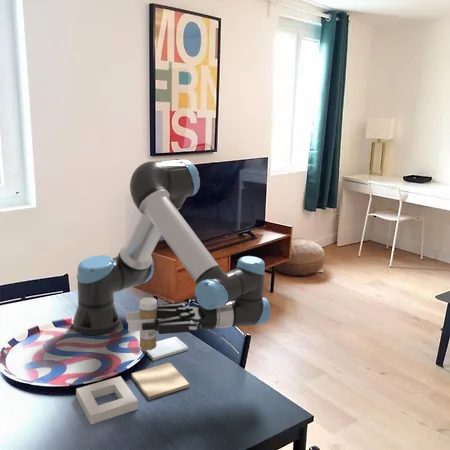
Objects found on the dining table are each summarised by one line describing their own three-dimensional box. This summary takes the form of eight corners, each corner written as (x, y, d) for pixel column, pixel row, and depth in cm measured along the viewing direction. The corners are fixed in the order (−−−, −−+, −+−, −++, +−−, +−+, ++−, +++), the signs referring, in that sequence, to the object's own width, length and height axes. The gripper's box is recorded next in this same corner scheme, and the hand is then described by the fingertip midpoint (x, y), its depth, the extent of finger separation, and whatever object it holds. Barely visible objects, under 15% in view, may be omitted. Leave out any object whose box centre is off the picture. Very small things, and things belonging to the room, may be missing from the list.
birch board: (131, 376, 130) (131, 373, 130) (169, 365, 137) (169, 362, 136) (149, 399, 121) (149, 396, 120) (189, 386, 127) (189, 383, 127)
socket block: (76, 397, 120) (76, 388, 119) (120, 384, 126) (120, 376, 126) (90, 424, 110) (90, 415, 110) (137, 409, 117) (137, 400, 116)
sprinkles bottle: (153, 341, 126) (154, 295, 122) (158, 349, 122) (159, 302, 118) (137, 343, 124) (137, 297, 120) (141, 352, 120) (142, 304, 116)
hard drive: (153, 357, 138) (188, 346, 146) (141, 345, 145) (175, 335, 152) (153, 362, 139) (188, 351, 146) (141, 350, 145) (175, 339, 152)
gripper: (222, 342, 119) (130, 352, 112) (205, 313, 135) (124, 319, 128) (224, 316, 117) (130, 324, 110) (207, 289, 133) (124, 294, 126)
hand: (127, 321), depth 119 cm, fingers closed on sprinkles bottle, 4 cm apart
